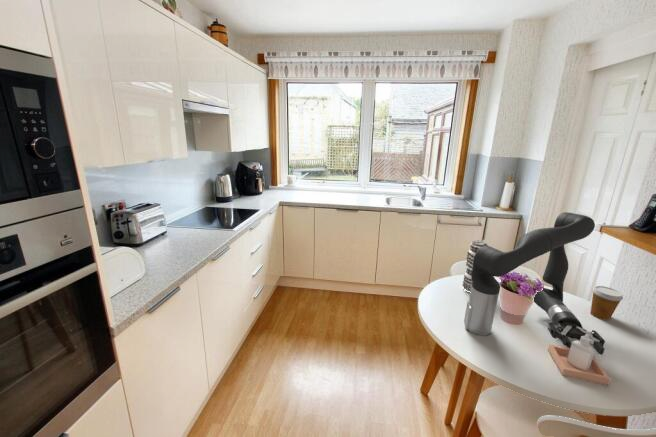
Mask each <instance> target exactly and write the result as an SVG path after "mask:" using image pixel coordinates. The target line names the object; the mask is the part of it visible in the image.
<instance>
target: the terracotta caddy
mask: <svg viewBox="0 0 656 437" xmlns="http://www.w3.org/2000/svg"><path fill="white" fill-rule="evenodd" d="M569 351H570V348H567V347H564V346H560V345H555V344H549V343H548V347H547V352H548V354H549V355H550V356H551V358H552V360H553V362H554V364H555V366H556V367H557V369H558V371H559V372H560V374H561V376H565V377H569V378H573V379H577V380H582V381H586V382H591V383H594V384H600V385H603V386H609V384H610V382H611V378H610V376H609V375H608V373H606V371H605V370H604V368H603V367H602V366H601V365H600V363H599V361H598V360H596V357H594V356H593V359H592V362H591V365H590V368H589V370H587V371H583V370H580V369H578V368H576V367H574V366H573V365H571V364H570V363H569V362H568V361H567V357H568V354H569Z"/></svg>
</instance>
